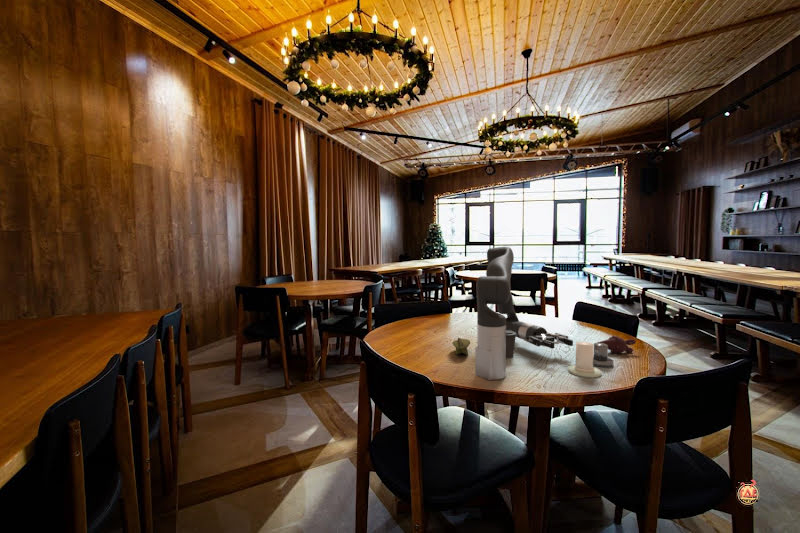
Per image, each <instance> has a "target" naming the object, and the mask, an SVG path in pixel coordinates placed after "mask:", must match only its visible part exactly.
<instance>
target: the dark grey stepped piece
mask: <svg viewBox="0 0 800 533" xmlns="http://www.w3.org/2000/svg"><path fill="white" fill-rule="evenodd" d="M608 350H609V349H608V345H607V344H604V343H597V342H595V343H593V367H594V366H595V367H598V368H613V367H614V360H613V359H612V358H609V356H608V355H609V354H608V353H609V352H608Z"/></svg>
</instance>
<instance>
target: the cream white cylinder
mask: <svg viewBox="0 0 800 533" xmlns="http://www.w3.org/2000/svg"><path fill="white" fill-rule="evenodd" d="M593 356H594V343H591V342H588V341H576V342H575V364H573V365H574V369H575V370H576V371H579V372H583V373H593V372H594V368H595V367H594V365H593Z"/></svg>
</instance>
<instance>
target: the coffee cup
mask: <svg viewBox="0 0 800 533" xmlns="http://www.w3.org/2000/svg"><path fill="white" fill-rule="evenodd" d="M516 335H517V334H516V332H513V331H511V330H506V359H512V358H514V352H515V346H516V345H515V344H516V339H517V337H516Z"/></svg>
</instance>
